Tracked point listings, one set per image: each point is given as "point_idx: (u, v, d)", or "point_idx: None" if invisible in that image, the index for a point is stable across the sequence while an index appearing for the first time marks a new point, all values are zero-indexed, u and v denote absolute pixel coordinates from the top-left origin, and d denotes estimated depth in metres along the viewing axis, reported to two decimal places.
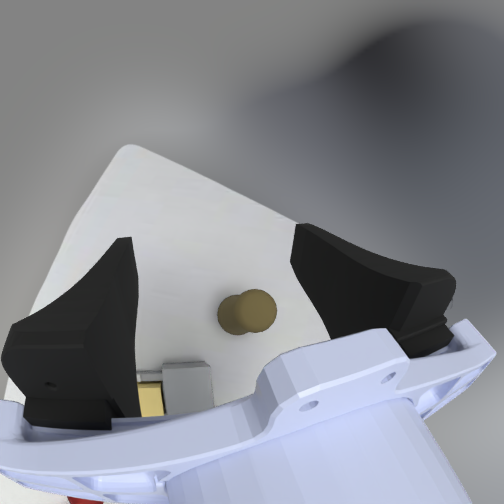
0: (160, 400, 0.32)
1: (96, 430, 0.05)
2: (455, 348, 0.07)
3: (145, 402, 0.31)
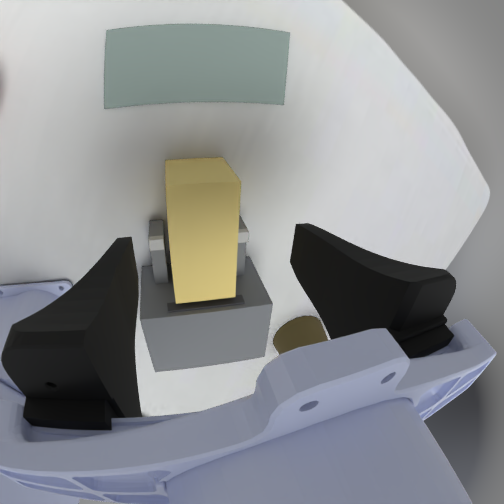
0: (210, 297, 0.19)
1: (96, 430, 0.05)
2: (455, 348, 0.07)
3: (206, 273, 0.18)
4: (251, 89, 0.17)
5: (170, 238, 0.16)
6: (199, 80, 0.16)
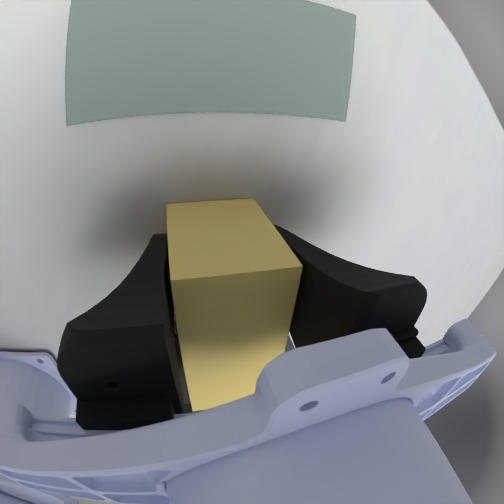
0: None
1: (96, 430, 0.05)
2: (455, 348, 0.07)
3: (236, 381, 0.12)
4: (301, 95, 0.11)
5: (183, 350, 0.10)
6: (220, 77, 0.10)
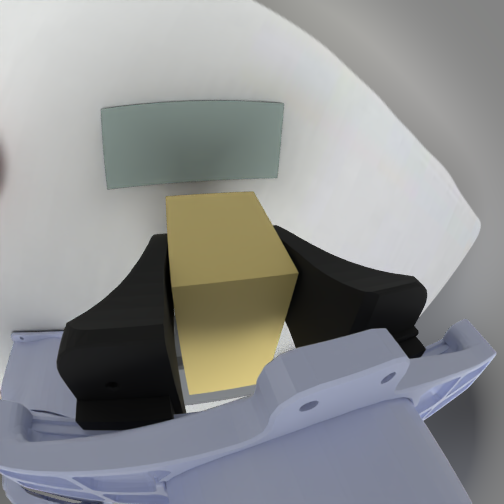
0: (233, 387, 0.14)
1: (96, 430, 0.05)
2: (455, 348, 0.07)
3: (231, 369, 0.13)
4: (246, 166, 0.20)
5: (182, 344, 0.10)
6: (196, 160, 0.19)
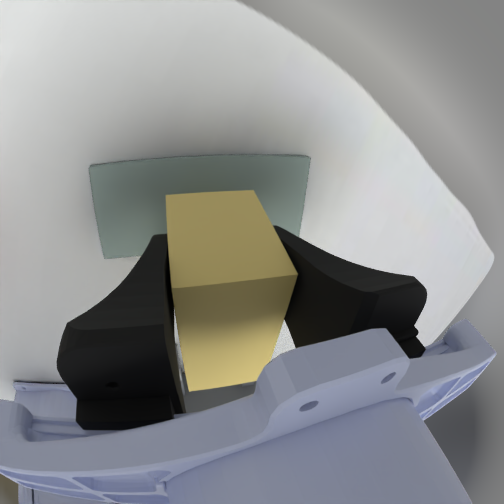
0: (232, 384, 0.14)
1: (96, 430, 0.05)
2: (455, 348, 0.07)
3: (230, 367, 0.13)
4: None
5: (182, 343, 0.10)
6: None
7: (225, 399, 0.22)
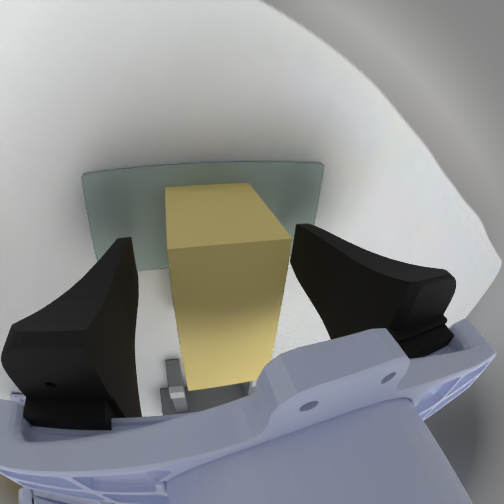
0: (234, 382, 0.13)
1: (96, 430, 0.05)
2: (455, 348, 0.07)
3: (230, 358, 0.12)
4: None
5: (178, 322, 0.10)
6: None
7: None
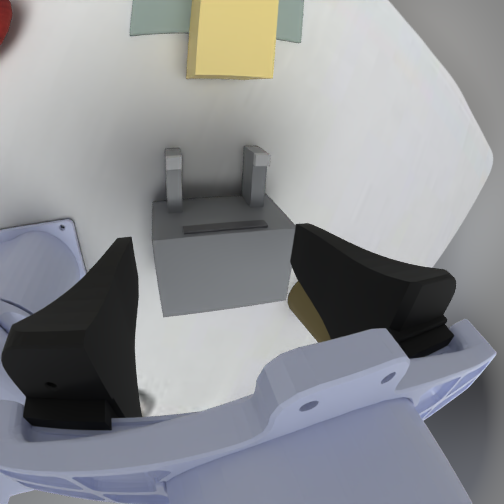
0: (240, 72, 0.13)
1: (96, 430, 0.05)
2: (455, 348, 0.07)
3: (239, 36, 0.12)
4: None
5: None
6: None
7: (230, 214, 0.20)
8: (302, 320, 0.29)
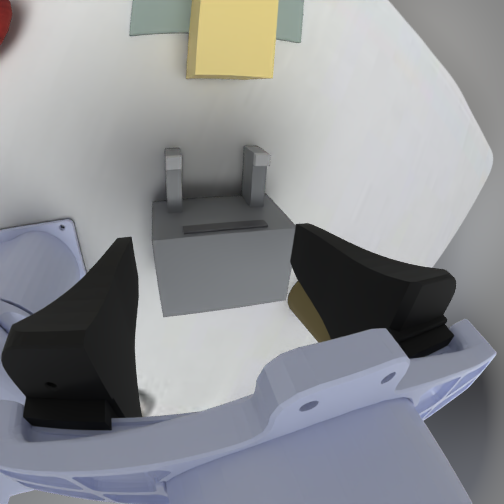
0: (240, 72, 0.13)
1: (96, 430, 0.05)
2: (455, 348, 0.07)
3: (239, 35, 0.12)
4: None
5: None
6: None
7: (230, 214, 0.20)
8: (302, 320, 0.29)
